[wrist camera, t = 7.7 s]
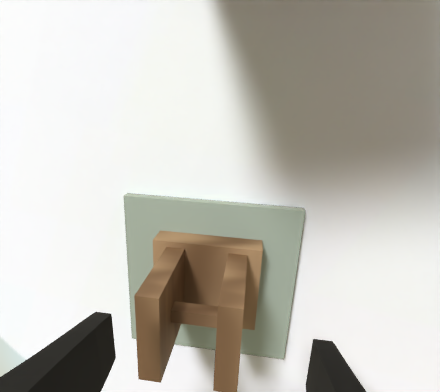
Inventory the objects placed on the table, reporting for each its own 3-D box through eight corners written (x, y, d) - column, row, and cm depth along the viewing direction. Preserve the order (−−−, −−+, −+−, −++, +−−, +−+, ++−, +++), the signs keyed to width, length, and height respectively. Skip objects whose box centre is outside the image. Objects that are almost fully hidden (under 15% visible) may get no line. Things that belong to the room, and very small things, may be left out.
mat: (303, 208, 18) (305, 211, 18) (283, 353, 22) (283, 359, 21) (127, 193, 20) (123, 195, 19) (135, 332, 23) (132, 338, 23)
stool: (262, 240, 19) (264, 304, 13) (254, 314, 21) (253, 402, 14) (160, 230, 20) (115, 286, 13) (161, 303, 21) (122, 382, 15)
